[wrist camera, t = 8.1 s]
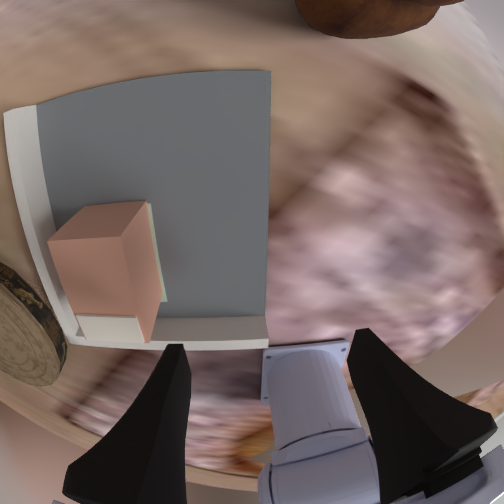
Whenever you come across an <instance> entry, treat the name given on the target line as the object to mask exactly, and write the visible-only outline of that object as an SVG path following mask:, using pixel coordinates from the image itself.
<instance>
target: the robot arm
mask: <svg viewBox="0 0 504 504" xmlns="http://www.w3.org/2000/svg"><path fill="white" fill-rule="evenodd" d="M349 345H350V344H349V341H348V340H339V341H331V342H322V343H313V344H302V345H291V346H278V347H268V348H265V349H264V350H263V360H262V381H261V404H264V405H266V404H270V409H271V416H272V423H273V431H274V438H275V445H276V452H272V453H271V459H272V463H267V464H266V465H265V466H264V467H263V469H262V471H261V472H260V474H259V477H258V497H259V502H260V504H491V503H492V502H493V501H495V500H496V499H497V498H498V497H500V496H501V495H502V494H503V493H504V449H503V447H502V445H499V446H498V447H496V448H495V449H494V450H492V451H491V452H489V453H487V454H486V455H485V456H483V457H482V458H480V456H479V454H480V453H481V452H482V450H481V448H480V446H481V445H482V444H483V443H484V442H485V441H486V440H488V439H489V438H490V437H491V436H492V435H493V434H494V433H495V432H496V431H497V428H498V427H497V425H496V423H495V421H494V419H493V417H492V415H491V414H490V413H488V412H485V411H482V410H480V409H477V408H474V407H472V406H469V405H467V404H465V403H463V402H461V401H459V400H457V399H455V398H453V397H451V396H449V395H448V394H446V393H444V392H443V391H441V390H439V389H438V388H436V387H435V386H433V385H432V384H431V383H429V382H428V381H426V380H425V379H424V378H422V377H421V376H420V375H419V374H417V373H416V372H415V371H414V370H413V369H411V368H410V367H409V366H408V365H407V364H406V363H404V362H403V361H402V360H401V359H400V358H399V357H398V356H397V355H396V354H395V353H394V352H393V351H392V350H391V349H389V348H388V347H387V346H386V345H385V344H384V343H383V342H382V341H381V340H380V339H379V338H378V337H377V336H376V335H375V334H374V333H373V332H372V331H371V330H370V329H369V328H365V329H358V330H356V331H355V335H354V338H353V341H352V345H351V348H350V351H349V355H348V358H347V364H348V368H349V372H350V376H351V380H352V383H353V386H354V388H355V391H356V393H357V396H358V398H359V401H360V403H361V406H362V409H363V411H364V414H365V417H366V419H367V422H368V425H369V428H370V433H371V435H369V436H368V437H367V434H366V430H365V428H364V427H361V425H360V422H359V419H358V416H357V413H356V410H355V407H354V404H353V401H352V398H351V395H350V393H349V390H348V387H347V384H346V381H345V378H344V375H343V373H342V370H341V368H342V366H343V363H344V360H345V357H346V354H347V351H348V348H349ZM190 399H191V371H190V367H189V364H188V360H187V357H186V353H185V349H184V345H183V344H168V345H167V346H166V348H165V350H164V352H163V354H162V356H161V358H160V360H159V361H158V363H157V365H156V367H155V369H154V371H153V372H152V374H151V376H150V377H149V379H148V381H147V382H146V384H145V386H144V387H143V389H142V390H141V392H140V393H139V395H138V396H137V398H136V399H135V401H134V402H133V403H132V405H131V406H130V407H129V409H128V410H127V411H126V413H125V414H124V415H123V416H122V418H121V419H120V420H119V421H118V422H117V423H116V424H115V426H114V427H113V428H112V429H111V430H110V431H109V432H108V433H107V434H106V435H105V436H104V437H103V438H102V439H101V440H100V441H99V442H98V443H97V444H95V445H94V446H93V447H92V448H91V449H90V450H89V451H88V452H87V453H85V454H84V455H82V456H81V457H80V458H79V459H77V460H76V461H74V462H73V463H71V464H70V465H69V466H68V469H67V472H66V475H65V480H64V485H63V490H62V493H63V494H64V495H65V496H66V497H68V498H70V499H72V500H74V501H76V502H78V503H80V504H187V499H186V484H185V438H186V430H187V422H188V414H189V407H190ZM405 498H406V499H405ZM400 500H401V501H400ZM52 504H64V503H61V502H59V501H56V500H53V503H52Z"/></svg>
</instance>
